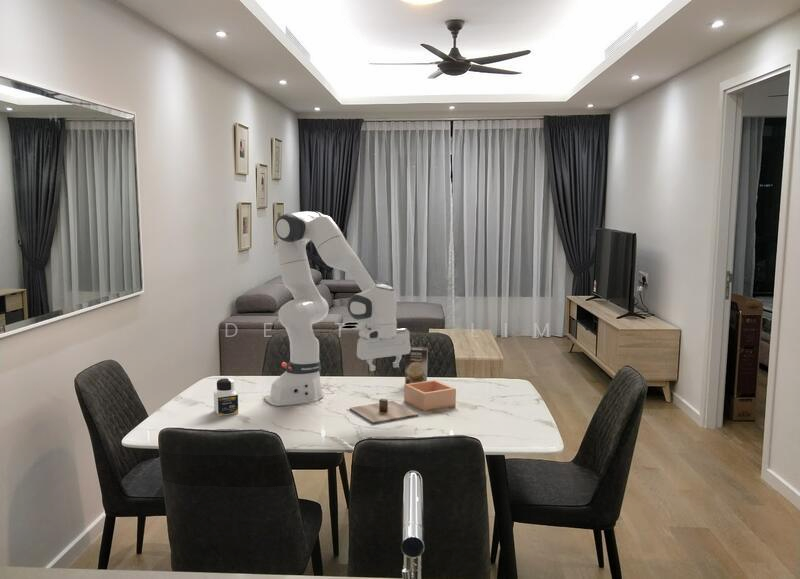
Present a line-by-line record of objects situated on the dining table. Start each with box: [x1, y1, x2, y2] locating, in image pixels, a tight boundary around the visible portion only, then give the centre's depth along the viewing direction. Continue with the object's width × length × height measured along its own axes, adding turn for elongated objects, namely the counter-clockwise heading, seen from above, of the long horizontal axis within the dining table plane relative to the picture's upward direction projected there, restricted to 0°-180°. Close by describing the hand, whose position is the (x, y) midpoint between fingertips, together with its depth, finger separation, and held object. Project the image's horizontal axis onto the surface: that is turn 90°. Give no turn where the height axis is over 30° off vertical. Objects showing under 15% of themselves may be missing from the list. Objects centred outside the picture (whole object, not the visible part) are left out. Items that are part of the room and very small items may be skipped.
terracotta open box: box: [403, 379, 457, 412], centre depth 244 cm, size 14×14×7 cm
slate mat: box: [346, 408, 423, 427], centre depth 232 cm, size 20×20×1 cm
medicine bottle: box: [213, 377, 239, 417], centre depth 233 cm, size 7×7×12 cm
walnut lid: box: [349, 398, 419, 424], centre depth 232 cm, size 18×18×5 cm
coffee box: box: [404, 346, 429, 385], centre depth 268 cm, size 9×6×16 cm
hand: (384, 369), depth 230 cm, fingers open, 8 cm apart
